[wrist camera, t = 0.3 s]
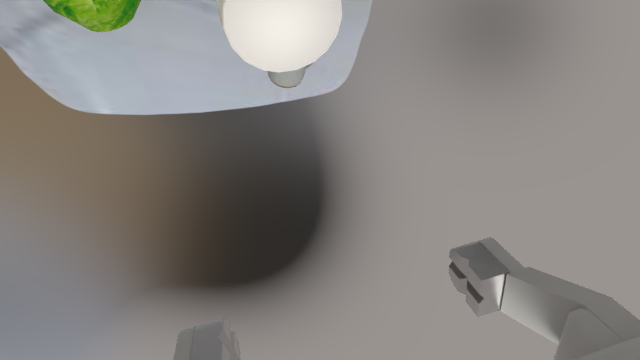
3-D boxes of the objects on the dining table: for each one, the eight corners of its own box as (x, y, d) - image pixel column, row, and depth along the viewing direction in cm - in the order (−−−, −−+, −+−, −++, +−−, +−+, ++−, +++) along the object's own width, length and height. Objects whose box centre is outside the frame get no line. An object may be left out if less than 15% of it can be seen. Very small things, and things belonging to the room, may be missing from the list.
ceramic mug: (264, 67, 67) (271, 93, 63) (265, 30, 60) (273, 56, 56) (313, 65, 70) (323, 89, 66) (319, 29, 63) (331, 54, 59)
